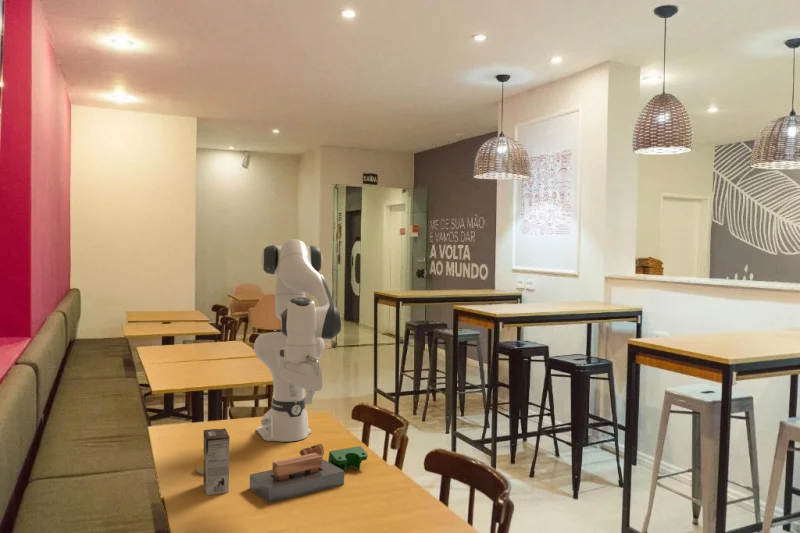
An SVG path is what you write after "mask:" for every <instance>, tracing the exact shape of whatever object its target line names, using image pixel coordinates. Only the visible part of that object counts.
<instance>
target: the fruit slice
mask: <svg viewBox="0 0 800 533" xmlns="http://www.w3.org/2000/svg"><path fill="white" fill-rule="evenodd" d="M312 453H316V454H318V455H320V456H322V457H323V456H324V454H325V450H324V446H323V443H318V444H317V445H316V444H315V445H312V446H310V447H305V448H302V449H300V450H299V454H300V455H299V456H303V455H307V454H312Z"/></svg>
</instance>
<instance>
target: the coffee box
mask: <svg viewBox="0 0 800 533" xmlns="http://www.w3.org/2000/svg"><path fill="white" fill-rule="evenodd" d="M203 459H204V464H203V474H202V475H203V476H202V477H203V483H202V484H203V488H204V492H205V495H206V496H211V495H218V494H219V495H221V494H227V493H229V491H230V490H229V489H230V488H229V487H230V486H229V482H230V478H229V477H230V434H229V432H228V431H227V429H226V428H212V429H211V428H210V429H203Z"/></svg>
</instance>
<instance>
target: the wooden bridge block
mask: <svg viewBox="0 0 800 533" xmlns="http://www.w3.org/2000/svg"><path fill="white" fill-rule="evenodd" d="M322 459H323V456H320V455H318V454H316V453H312V454H307V455H303V456H301V455H298V456H293V457H289V458H284V459H280V460H276V461H275V460H274V461H272V469H271V470H272V472H273V473H274V474H275V479H276V480H278V481H279V480H284V479H288V478H289V474H291V473H295V472H300V471H304V470H306V472H308V473H314V472H318V471H319V467H322Z"/></svg>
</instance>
